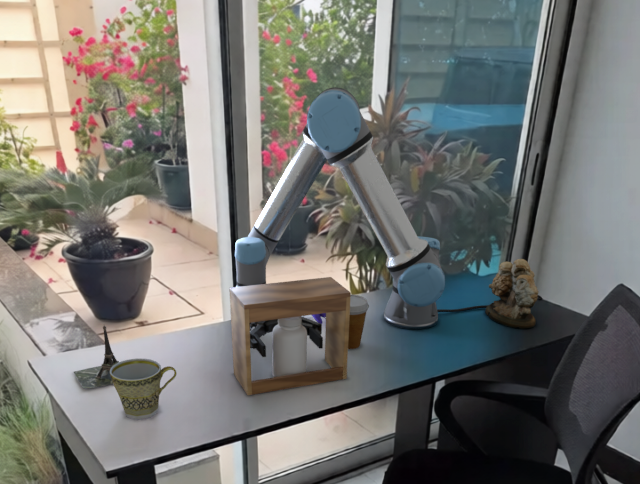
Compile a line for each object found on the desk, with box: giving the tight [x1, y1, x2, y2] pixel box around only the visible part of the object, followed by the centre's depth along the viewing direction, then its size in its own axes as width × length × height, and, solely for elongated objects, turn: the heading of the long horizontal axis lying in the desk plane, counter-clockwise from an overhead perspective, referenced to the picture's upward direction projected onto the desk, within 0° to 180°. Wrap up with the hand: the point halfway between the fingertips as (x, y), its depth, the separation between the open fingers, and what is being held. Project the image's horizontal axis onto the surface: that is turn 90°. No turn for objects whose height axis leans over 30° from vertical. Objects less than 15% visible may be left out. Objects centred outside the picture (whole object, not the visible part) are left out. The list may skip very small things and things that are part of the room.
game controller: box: [310, 313, 326, 325], centre depth 181 cm, size 10×8×10 cm
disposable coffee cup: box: [348, 294, 370, 350], centre depth 166 cm, size 10×10×12 cm
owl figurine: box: [484, 258, 539, 330], centre depth 185 cm, size 18×12×17 cm, turn 30°
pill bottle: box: [271, 316, 308, 378], centre depth 149 cm, size 8×8×15 cm
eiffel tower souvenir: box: [73, 325, 120, 389], centre depth 147 cm, size 15×10×13 cm
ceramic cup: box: [110, 358, 177, 421], centre depth 135 cm, size 13×10×10 cm
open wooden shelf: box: [228, 276, 352, 396], centre depth 147 cm, size 11×24×21 cm, turn 114°
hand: (293, 347), depth 147 cm, fingers open, 13 cm apart
